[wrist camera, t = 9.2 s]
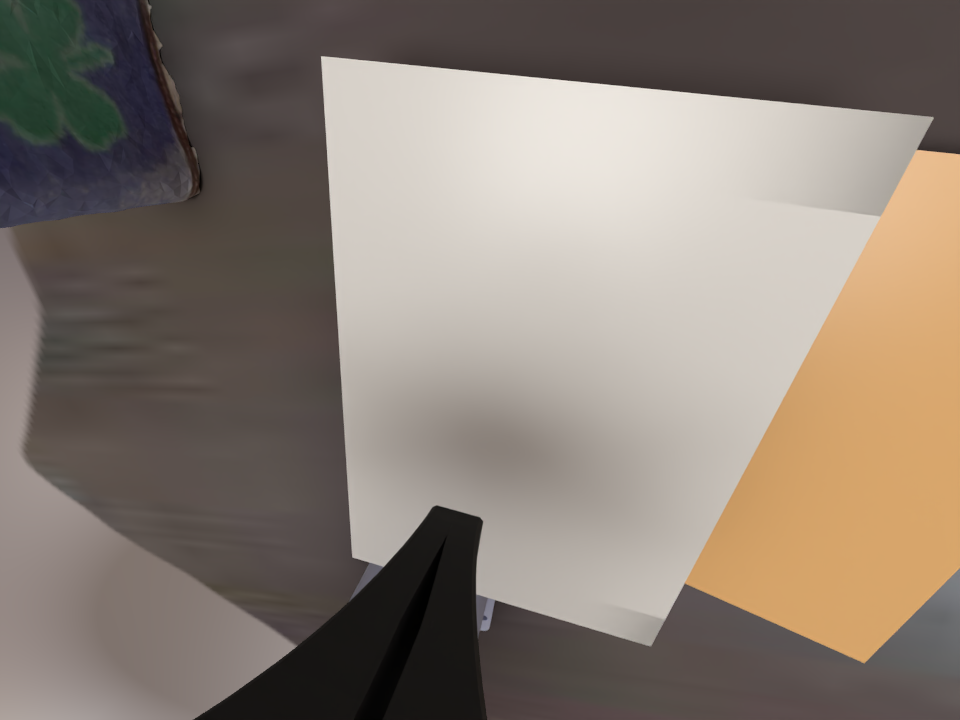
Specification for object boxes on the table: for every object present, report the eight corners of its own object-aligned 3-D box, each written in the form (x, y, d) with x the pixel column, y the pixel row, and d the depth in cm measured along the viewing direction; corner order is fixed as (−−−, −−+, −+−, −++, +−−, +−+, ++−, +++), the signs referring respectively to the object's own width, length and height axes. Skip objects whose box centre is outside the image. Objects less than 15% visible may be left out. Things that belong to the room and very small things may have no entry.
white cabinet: (640, 550, 23) (650, 646, 19) (394, 484, 25) (352, 557, 21) (824, 123, 13) (933, 117, 9) (398, 78, 15) (320, 56, 11)
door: (670, 560, 22) (857, 641, 19) (669, 576, 21) (864, 663, 18) (873, 146, 13) (1285, 189, 10) (884, 146, 12) (1334, 193, 9)
